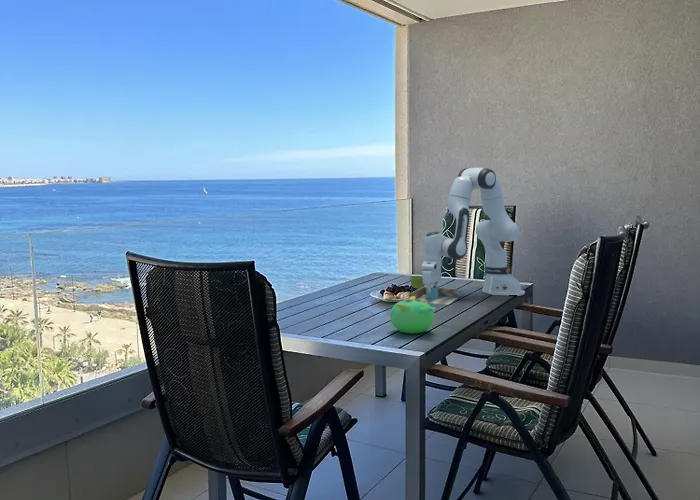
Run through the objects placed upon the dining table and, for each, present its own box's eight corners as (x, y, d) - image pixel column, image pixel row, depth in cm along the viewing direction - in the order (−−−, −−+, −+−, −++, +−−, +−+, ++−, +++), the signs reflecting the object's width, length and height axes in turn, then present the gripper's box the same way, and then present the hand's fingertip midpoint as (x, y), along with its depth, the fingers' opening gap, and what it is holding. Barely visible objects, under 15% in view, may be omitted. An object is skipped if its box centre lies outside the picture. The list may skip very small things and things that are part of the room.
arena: (459, 299, 328) (459, 289, 328) (448, 306, 310) (448, 296, 310) (422, 296, 336) (422, 286, 336) (409, 303, 318) (409, 293, 318)
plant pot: (426, 291, 350) (426, 275, 349) (426, 294, 341) (426, 278, 340) (409, 291, 351) (409, 275, 350) (409, 294, 342) (409, 278, 341)
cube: (429, 296, 329) (429, 287, 328) (438, 297, 327) (438, 287, 326) (426, 298, 325) (426, 288, 324) (435, 299, 322) (435, 289, 322)
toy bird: (430, 327, 268) (431, 293, 266) (437, 338, 251) (438, 301, 249) (388, 328, 267) (388, 293, 266) (392, 338, 251) (392, 301, 249)
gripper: (432, 261, 334) (432, 286, 336) (420, 266, 316) (420, 293, 318) (444, 261, 332) (444, 287, 333) (432, 267, 313) (432, 294, 315)
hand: (432, 290), depth 325 cm, fingers open, 8 cm apart
